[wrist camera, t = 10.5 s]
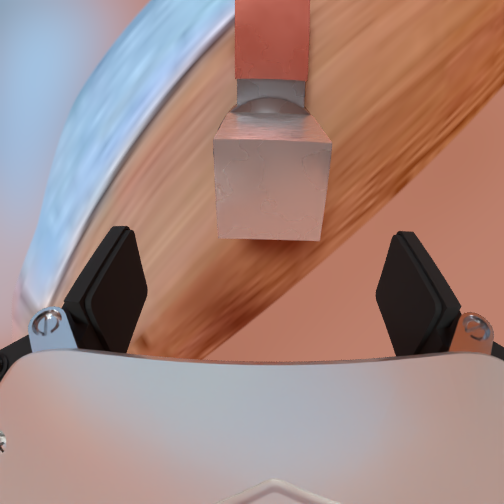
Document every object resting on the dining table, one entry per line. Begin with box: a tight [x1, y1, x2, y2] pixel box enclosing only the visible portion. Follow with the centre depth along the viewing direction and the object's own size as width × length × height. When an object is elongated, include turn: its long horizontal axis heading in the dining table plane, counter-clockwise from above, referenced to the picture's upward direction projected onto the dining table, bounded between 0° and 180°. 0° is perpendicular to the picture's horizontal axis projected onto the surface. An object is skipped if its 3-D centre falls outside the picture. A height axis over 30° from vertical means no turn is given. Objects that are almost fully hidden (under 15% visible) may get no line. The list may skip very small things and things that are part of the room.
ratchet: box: [213, 0, 311, 154], centre depth 16 cm, size 14×7×6 cm, turn 179°
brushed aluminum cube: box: [213, 112, 332, 241], centre depth 16 cm, size 5×5×6 cm
